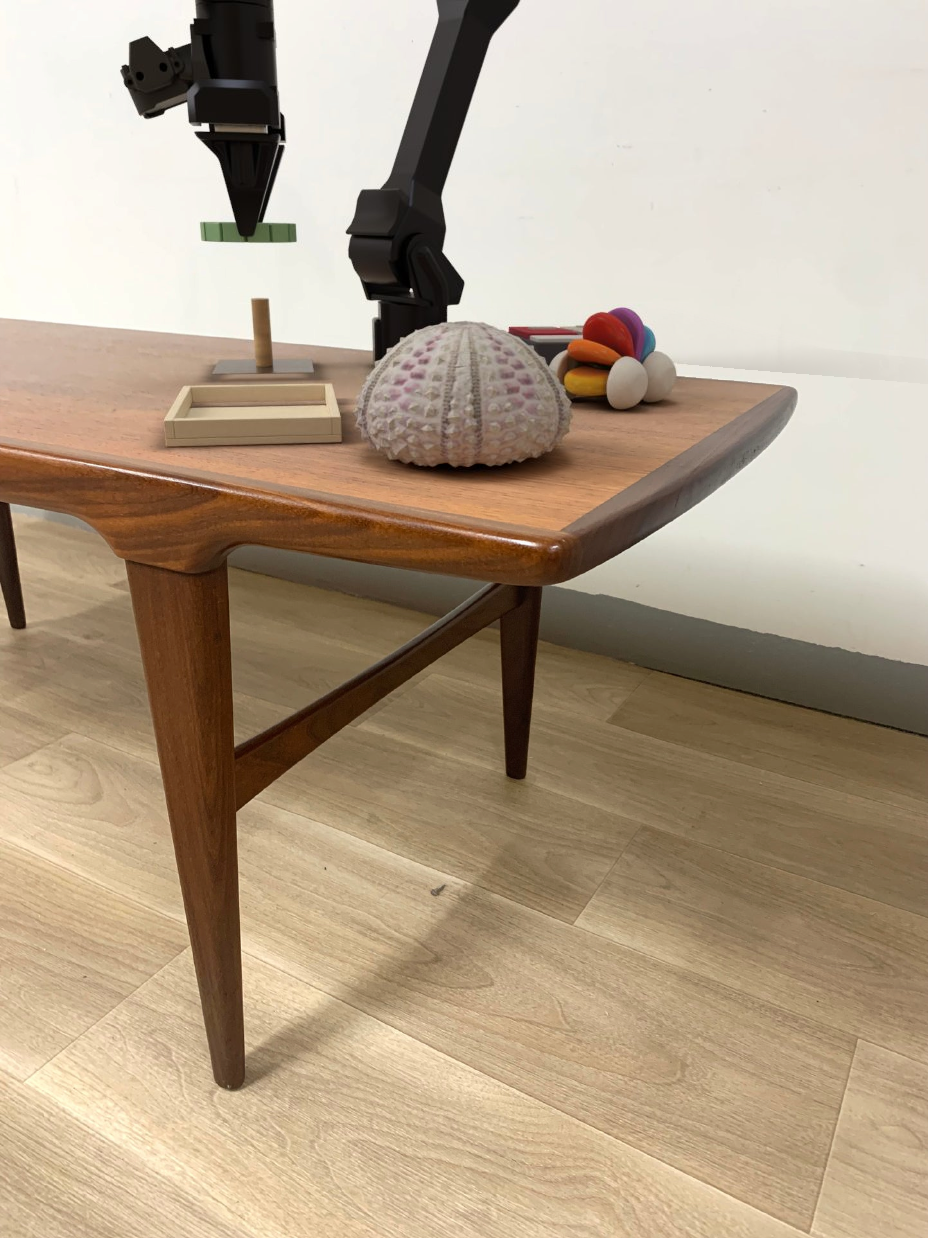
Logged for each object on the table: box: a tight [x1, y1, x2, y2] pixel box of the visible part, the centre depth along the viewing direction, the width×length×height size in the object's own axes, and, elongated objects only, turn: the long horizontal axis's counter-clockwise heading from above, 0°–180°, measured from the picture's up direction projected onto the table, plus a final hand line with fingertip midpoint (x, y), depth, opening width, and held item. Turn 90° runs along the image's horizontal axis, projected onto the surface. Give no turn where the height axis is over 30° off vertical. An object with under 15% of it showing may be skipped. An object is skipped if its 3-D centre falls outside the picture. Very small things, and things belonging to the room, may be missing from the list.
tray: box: [162, 383, 343, 448], centre depth 68 cm, size 11×13×2 cm
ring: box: [199, 221, 298, 244], centre depth 77 cm, size 8×8×1 cm
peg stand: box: [211, 297, 315, 375], centre depth 88 cm, size 9×9×7 cm
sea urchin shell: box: [352, 320, 574, 468], centre depth 58 cm, size 13×14×8 cm
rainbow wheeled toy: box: [549, 306, 678, 410], centre depth 76 cm, size 8×10×7 cm
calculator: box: [507, 324, 584, 366], centre depth 91 cm, size 11×4×15 cm
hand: (249, 235), depth 77 cm, fingers closed on ring, 7 cm apart
